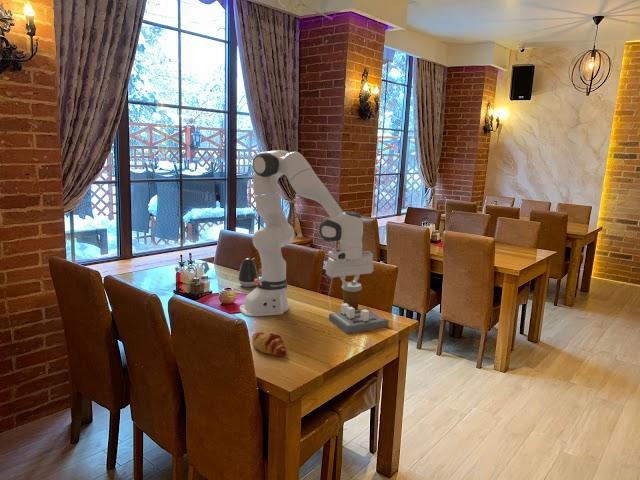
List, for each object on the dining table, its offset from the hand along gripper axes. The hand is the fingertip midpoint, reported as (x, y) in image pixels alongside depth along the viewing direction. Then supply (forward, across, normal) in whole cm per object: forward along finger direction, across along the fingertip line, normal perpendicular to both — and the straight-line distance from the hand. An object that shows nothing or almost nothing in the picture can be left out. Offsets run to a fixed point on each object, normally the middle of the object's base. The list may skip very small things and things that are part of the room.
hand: (349, 285), depth 193 cm
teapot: (+20, +44, -96) cm, 107 cm away
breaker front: (+16, -8, 0) cm, 18 cm away
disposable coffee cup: (+19, -14, -22) cm, 32 cm away
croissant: (+20, +36, +4) cm, 41 cm away
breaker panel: (+19, -8, -5) cm, 21 cm away
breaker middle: (+16, -4, -5) cm, 17 cm away
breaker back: (+16, -4, -10) cm, 19 cm away
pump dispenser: (+19, +19, -74) cm, 79 cm away
